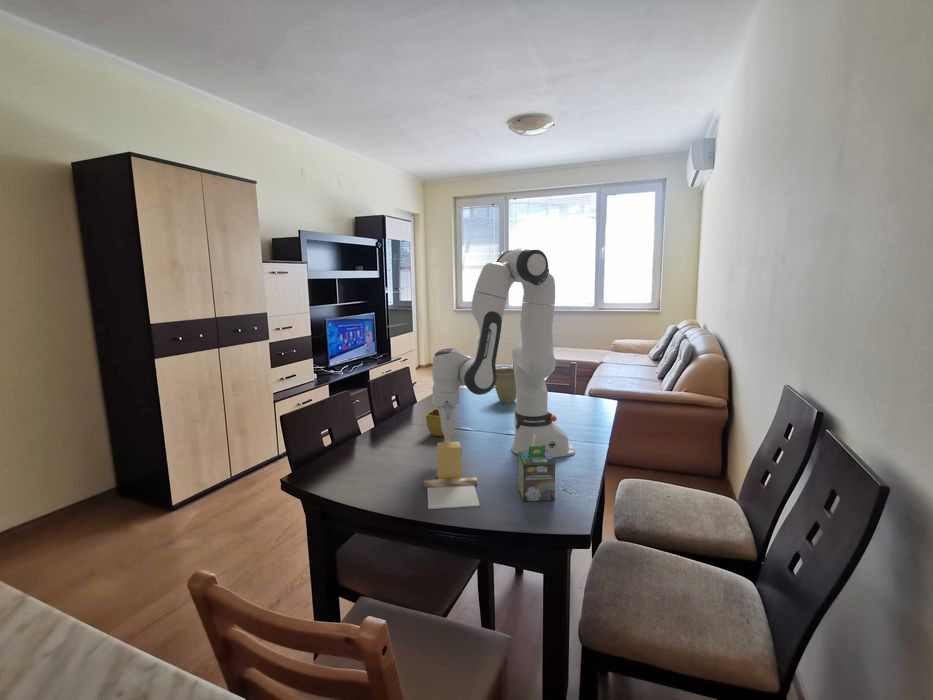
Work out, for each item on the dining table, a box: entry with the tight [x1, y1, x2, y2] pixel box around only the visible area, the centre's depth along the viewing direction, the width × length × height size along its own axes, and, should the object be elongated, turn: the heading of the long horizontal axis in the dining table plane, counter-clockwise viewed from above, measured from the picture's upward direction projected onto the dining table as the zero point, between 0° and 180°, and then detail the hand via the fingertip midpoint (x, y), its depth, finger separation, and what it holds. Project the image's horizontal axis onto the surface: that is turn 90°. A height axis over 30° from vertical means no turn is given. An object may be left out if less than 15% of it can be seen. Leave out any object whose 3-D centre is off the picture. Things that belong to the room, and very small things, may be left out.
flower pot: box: [425, 408, 444, 437], centre depth 178 cm, size 9×9×9 cm
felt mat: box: [426, 485, 481, 510], centre depth 126 cm, size 14×12×1 cm
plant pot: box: [494, 367, 516, 405], centre depth 224 cm, size 15×15×16 cm
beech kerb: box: [423, 476, 478, 489], centre depth 134 cm, size 16×2×2 cm, turn 96°
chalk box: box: [517, 446, 556, 502], centre depth 127 cm, size 9×9×15 cm
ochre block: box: [437, 441, 463, 479], centre depth 137 cm, size 7×5×11 cm
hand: (446, 438), depth 149 cm, fingers open, 8 cm apart
